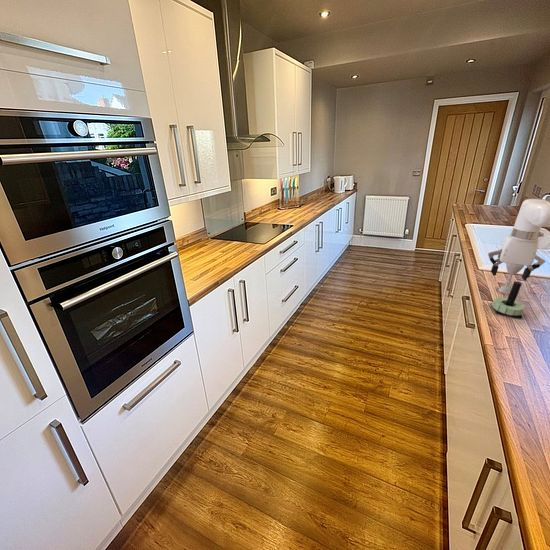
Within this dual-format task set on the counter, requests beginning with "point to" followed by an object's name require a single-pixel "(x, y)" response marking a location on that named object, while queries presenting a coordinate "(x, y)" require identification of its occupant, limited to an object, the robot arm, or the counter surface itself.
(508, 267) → the chalice
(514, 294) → the post
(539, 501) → the counter surface
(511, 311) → the ring
